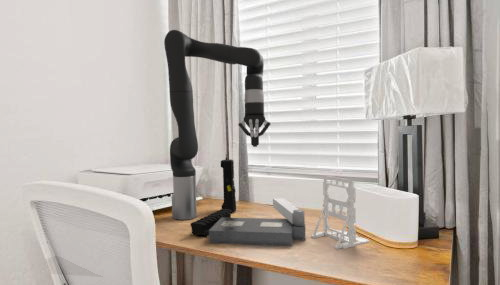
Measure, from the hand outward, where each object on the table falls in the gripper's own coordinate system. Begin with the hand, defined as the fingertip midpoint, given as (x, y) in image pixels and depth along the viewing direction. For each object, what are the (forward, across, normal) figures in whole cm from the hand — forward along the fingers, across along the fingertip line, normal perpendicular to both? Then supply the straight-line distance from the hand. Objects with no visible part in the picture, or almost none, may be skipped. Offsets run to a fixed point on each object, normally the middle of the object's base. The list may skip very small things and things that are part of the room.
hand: (255, 146), depth 130 cm
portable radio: (+29, +14, -13) cm, 35 cm away
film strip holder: (+29, -30, +20) cm, 46 cm away
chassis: (+29, -4, +20) cm, 35 cm away
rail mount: (+30, +14, +12) cm, 35 cm away
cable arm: (+24, -13, +9) cm, 29 cm away
